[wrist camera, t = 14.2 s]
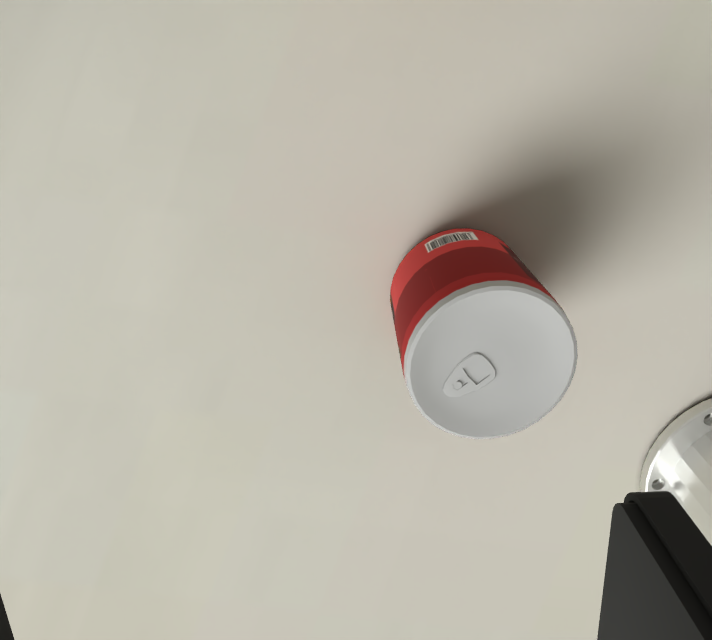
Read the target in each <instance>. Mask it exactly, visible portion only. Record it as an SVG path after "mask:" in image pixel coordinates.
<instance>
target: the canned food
mask: <svg viewBox="0 0 712 640" xmlns="http://www.w3.org/2000/svg"><path fill="white" fill-rule="evenodd" d="M390 302H391V308H392V314H393V320H394V325H395V331H396V336H397V342H398V347H399V353H400V358H401V364H402V369H403V375H404V377H405V382H406V386H407V389H408V391H409V394H410V396H411V398H412V400H413V402H414V404H415V406H416V407H417V409H418V410H419V411H420V413H421V414H422V415H423V416H424V417H425V418H426V419H427V420H428V421H429V422H430V423H432V424H433V425H434V426H436V427H438V428H439V429H441V430H443V431H445V432H447V433H450V434H453V435H456V436H459V437H464V438H471V439H493V438H498V437H503V436H508V435H510V434H513V433H516V432H519V431H521V430H524V429H525V428H527V427H529V426H531V425H533V424H534V423H536V422H538V421H539V420H540V419H542V418H543V417H544V416H545V415H547V414H548V413H549V412H550V411H551V410H552V409H553V408H554V407H555V406H556V405H557V403H558V402H559V401H560V400H561V399H562V397H563V396H564V394H565V392H566V391H567V389H568V387H569V386H570V383H571V381H572V378H573V375H574V373H575V369H576V363H577V356H578V355H577V341H576V337H575V334H574V331H573V327H572V325H571V324H570V321H569V319H568V318H567V316H566V314H565V313H564V311H563V309H562V308H561V307H560V306H559V304H558V303H557V302H556V300H555V299H554V298H553V297H552V296H551V294H550V293H549V292H548V291H547V290H546V289H545V288H544V287H543V285H542V284H541V283H540V282H539V281H538V280H537V279H536V277H535V276H534V275H533V274H532V273H531V272H530V271H529V270H528V268H527V267H526V266H525V265H524V264H523V263H522V262H521V261H520V259H519V258H518V257H517V256H516V255H515V254H514V253H513V251H512V250H511V249H510V248H509V247H508V246H507V245H506V244H505V243H504V242H503V241H501V240H500V239H498V238H497V237H495V236H494V235H491V234H489V233H486V232H484V231H481V230H475V229H469V228H465V229H452V230H447V231H442V232H439V233H437V234H435V235H432V236H430V237H428V238H426V239H425V240H423V241H422V242H420V243H419V244H417V245H416V246H415V247H414V248H413V249H412V250H411V251H410V252H409V253H408V254H407V255H406V256H405V258H404V259H403V260H402V262H401V263H400V264H399V266H398V269H397V271H396V273H395V275H394V277H393V281H392V285H391V293H390Z"/></svg>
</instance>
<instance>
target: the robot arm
mask: <svg viewBox="0 0 712 640" xmlns="http://www.w3.org/2000/svg"><path fill="white" fill-rule="evenodd" d="M640 491H641V492H632V493H628V494H627V495H626V497H625V499H624V503H617V504H615V506H614V507H613V512H612V520H611V529H610V537H609V546H608V554H607V562H606V571H605V579H604V587H603V596H602V604H601V613H600V621H599V629H598V639H597V640H712V398H711V399H708V400H705V401H703V402H701V403H699V404H698V405H696V406H694V407H692V408H690V409H689V410H687V411H685V412H684V413H683V414H682V415H680V416H679V417H678V418H677V419H675V420H674V421H673V422H671V423H670V425H669V426H668V427H667V428H666V429H665V430H664V431H663V432H662V433H661V434H660V435H659V437H658V438H657V440H656V441H655V443H654V444H653V446H652V447H651V449H650V450H649V453H648V455H647V457H646V460H645V462H644V465H643V468H642V474H641V479H640ZM0 640H14V637H13V634H12V631H11V627H10V624H9V621H8V617H7V614H6V611H5V608H4V604H3V601H2V598H1V594H0Z"/></svg>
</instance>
